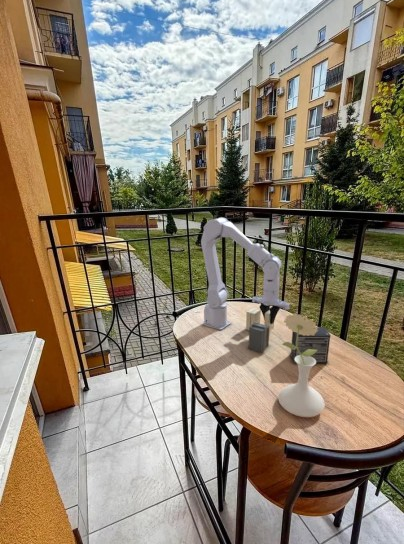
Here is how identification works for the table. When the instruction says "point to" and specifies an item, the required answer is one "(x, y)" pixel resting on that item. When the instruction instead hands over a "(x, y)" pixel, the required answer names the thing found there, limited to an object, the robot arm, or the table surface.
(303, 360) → the flower in vase
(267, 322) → the cream book
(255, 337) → the grey books
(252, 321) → the cream books
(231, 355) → the table surface
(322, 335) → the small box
